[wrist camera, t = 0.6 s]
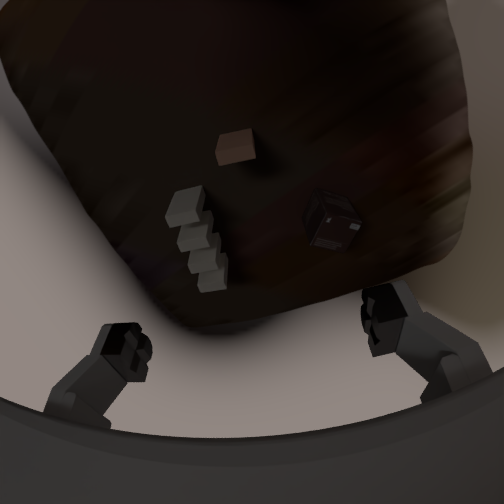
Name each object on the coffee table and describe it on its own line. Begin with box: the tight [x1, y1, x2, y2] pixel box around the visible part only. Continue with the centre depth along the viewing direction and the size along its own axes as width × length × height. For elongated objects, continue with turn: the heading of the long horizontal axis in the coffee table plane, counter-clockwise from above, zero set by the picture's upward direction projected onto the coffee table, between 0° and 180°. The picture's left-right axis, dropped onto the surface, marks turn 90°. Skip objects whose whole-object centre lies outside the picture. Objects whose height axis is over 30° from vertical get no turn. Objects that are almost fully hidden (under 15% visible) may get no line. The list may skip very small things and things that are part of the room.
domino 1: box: [165, 186, 206, 227], centre depth 40 cm, size 2×4×7 cm, turn 102°
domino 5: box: [215, 128, 256, 166], centre depth 34 cm, size 2×4×7 cm, turn 102°
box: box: [302, 188, 362, 253], centre depth 42 cm, size 6×6×7 cm
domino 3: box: [188, 232, 221, 274], centre depth 45 cm, size 2×4×7 cm, turn 102°
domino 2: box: [177, 210, 214, 252], centre depth 42 cm, size 2×4×7 cm, turn 102°
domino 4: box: [197, 252, 228, 293], centre depth 48 cm, size 2×4×7 cm, turn 102°
